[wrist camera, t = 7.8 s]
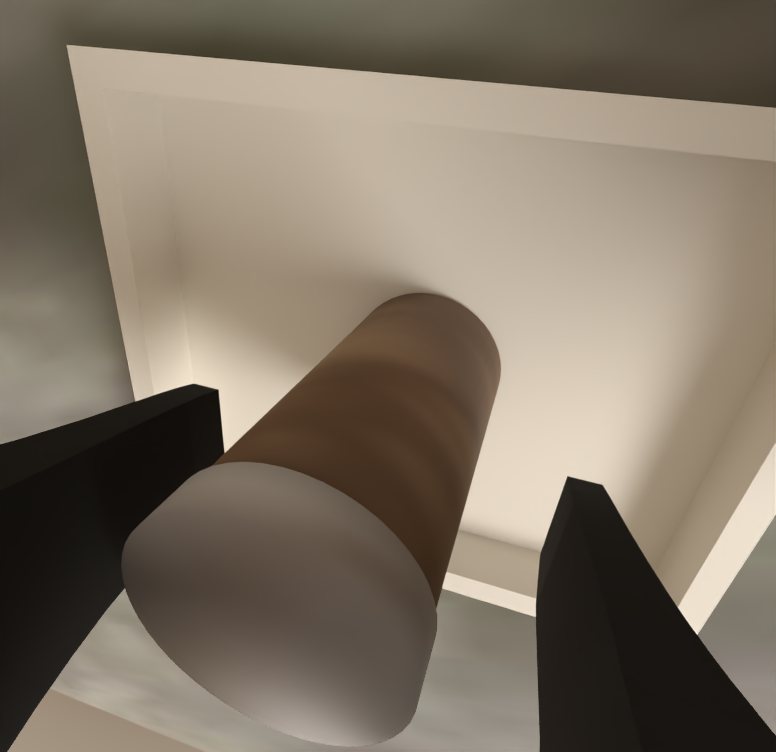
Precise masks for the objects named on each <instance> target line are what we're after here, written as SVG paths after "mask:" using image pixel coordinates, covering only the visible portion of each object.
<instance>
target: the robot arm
mask: <svg viewBox="0 0 776 752" xmlns="http://www.w3.org/2000/svg"><path fill="white" fill-rule="evenodd" d="M223 454H224V443H223V432H222V421H221V411H220V400H219V390H218V389H214V388H210V387H206V386H202V385H198V384H190V385H186V386H182V387H178V388H175V389H172V390H168V391H165V392H162V393H159V394H156V395H153V396H150V397H147V398H144V399H141V400H138V401H135V402H133V403H130V404H127V405H124V406H121V407H118V408H115V409H112V410H109V411H106V412H103V413H100V414H98V415H95V416H92V417H89V418H86V419H83V420H80V421H76V422H73V423H70V424H67V425H64V426H60V427H57V428H54V429H51V430H48V431H44V432H41V433H38V434H35V435H32V436H28V437H25V438H22V439H18V440H15V441H11V442H8V443H4V444H0V752H7V751H8V750H9V748H10V747H11V745H12V743H13V742H14V740H15V739H16V737H17V736H18V734H19V733H20V731H21V730H22V728H23V727H24V725H25V724H26V722H27V720H28V719H29V718H30V716H31V715H32V713H33V711H34V710H35V708H36V707H37V705H38V704H39V703H40V701H41V700H42V698H43V697H44V695H45V694H46V693H47V691H48V690H49V688H50V687H51V686H52V684H53V683H54V681H55V680H56V678H57V677H58V676H59V674H60V673H61V671H62V670H63V668H64V667H65V666H66V664H67V663H68V661H69V660H70V658H71V657H72V656H73V654H74V653H75V652H76V650H77V649H78V648H79V646H80V645H81V643H82V642H83V641H84V639H85V638H86V637H87V635H88V634H89V633H90V631H91V630H92V629H93V627H94V626H95V625H96V623H97V622H98V621H99V619H100V618H101V617H102V615H103V614H104V612H105V611H106V610H107V609H108V607H109V606H110V605H111V604H112V603H113V601H114V600H115V599H116V598H117V597H118V595H119V594H120V593H121V592H122V591H123V589H124V588H125V585H124V582H123V577H122V568H121V562H122V552H123V549H124V545H125V543H126V541H127V539H128V537H129V535H130V534H131V533H132V532H133V530H134V529H135V528H136V527H137V526H138V525H139V524H140V523H141V522H143V521H144V520H145V519H146V518H147V517H148V516H149V515H150V514H151V513H152V512H153V511H154V510H155V509H156V508H158V507H159V506H160V505H161V504H162V503H163V502H164V501H165V500H166V499H167V498H168V497H169V496H170V495H171V494H173V493H174V492H175V491H176V490H177V489H178V488H179V487H180V486H181V485H182V484H183V483H184V482H185V481H186V480H187V479H189V478H190V477H191V476H193V475H194V474H196V473H198V472H199V471H201V470H204V469H206V468H209V467H211V466H212V465H213V464H214V463H215V462H216V461H217V460H218V459H219V458H220V457H221V456H222V455H223ZM536 636H537V667H538V697H539V726H540V752H776V735H775V734H774V733H773V732H772V731H771V729H770V728H769V727H768V726H767V724H766V723H765V722H764V721H763V720H762V718H761V717H760V716H759V715H758V713H757V712H756V711H755V710H754V708H753V707H752V706H751V705H750V703H749V702H748V701H747V700H746V698H745V697H744V696H743V695H742V694H741V692H740V691H739V690H738V689H737V687H736V686H735V685H734V684H733V682H732V681H731V680H730V679H729V677H728V676H727V675H726V673H725V672H724V671H723V669H722V668H721V667H720V666H719V664H718V663H717V662H716V660H715V659H714V658H713V656H712V655H711V654H710V652H709V651H708V650H707V648H706V647H705V645H704V644H703V643H702V641H701V640H700V638H699V637H698V636H697V634H696V633H695V631H694V630H693V629H692V627H691V626H690V624H689V623H688V622H687V620H686V619H685V617H684V616H683V614H682V613H681V611H680V610H679V608H678V607H677V605H676V604H675V602H674V601H673V600H672V598H671V597H670V595H669V593H668V592H667V590H666V589H665V587H664V586H663V584H662V582H661V581H660V579H659V578H658V576H657V575H656V573H655V572H654V570H653V568H652V567H651V565H650V564H649V562H648V561H647V559H646V557H645V556H644V554H643V552H642V551H641V549H640V547H639V546H638V544H637V542H636V541H635V539H634V537H633V536H632V534H631V532H630V531H629V529H628V527H627V526H626V524H625V522H624V520H623V519H622V517H621V515H620V513H619V512H618V510H617V508H616V506H615V505H614V503H613V501H612V499H611V498H610V496H609V494H608V493H607V491H606V489H605V488H604V486H603V485H601V484H597V483H593V482H589V481H585V480H581V479H577V478H573V477H569V476H567V479H566V482H565V485H564V487H563V490H562V493H561V496H560V499H559V502H558V505H557V507H556V510H555V513H554V516H553V519H552V522H551V525H550V527H549V530H548V533H547V536H546V539H545V542H544V545H543V547H542V550H541V553H540V561H539V572H538V583H537V596H536Z"/></svg>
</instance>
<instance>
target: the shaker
mask: <svg viewBox="0 0 776 752" xmlns="http://www.w3.org/2000/svg"><path fill="white" fill-rule="evenodd" d="M500 376H501V361H500V356H499V351H498V348H497V346H496V343H495V340H494V339H493V337H492V335H491V333H490V331H489V330H488V329H487V327H486V326H485V324H484V323H483V322H482V321H481V320H480V319H479V318H478V317H477V316H476V315H475V314H474V313H473V312H471V311H470V310H469V309H467V308H466V307H464V306H463V305H461V304H460V303H457V302H455V301H453V300H451V299H449V298H446V297H443V296H439V295H434V294H428V293H411V294H405V295H400V296H398V297H395V298H392V299H390V300H388V301H386V302H384V303H382V304H381V305H380V306H378V307H377V308H376V309H375V310H374V311H373V312H372V313H370V314H369V315H368V316H367V317H366V318H365V319H364V320H363V321H362V322H361V323H360V324H359V325H358V326H357V327H356V328H355V329H354V330H353V331H352V332H351V333H350V334H349V335H348V336H346V337H345V338H344V339H343V340H342V341H341V342H340V343H339V344H338V345H337V346H336V347H335V348H334V349H333V350H332V351H331V352H330V353H329V354H328V355H327V356H326V357H325V358H324V359H322V360H321V361H320V362H319V363H318V364H317V365H316V366H315V367H314V368H313V369H312V370H311V371H310V372H309V373H308V374H307V375H306V376H305V377H304V378H303V379H302V380H301V381H300V382H298V383H297V384H296V385H295V386H294V387H293V388H292V389H291V390H290V391H289V392H288V393H287V394H286V395H285V396H284V397H283V398H282V399H281V400H280V401H279V402H278V403H277V404H276V405H274V406H273V407H272V408H271V409H270V410H269V411H268V412H267V413H266V414H265V415H264V416H263V417H262V418H261V419H260V420H259V421H258V422H257V423H256V424H255V425H254V426H253V427H252V428H250V429H249V430H248V431H247V432H246V433H245V434H244V435H243V436H242V437H241V438H240V439H239V440H238V441H237V442H236V443H235V444H234V445H233V446H232V447H231V448H230V449H229V450H228V451H226V452H225V453H224V454H223V455H222V456H221V457H220V458H219V459H218V460H217V461H216V462H215V463H214V464H213V465H212V466H211V467H209V468H206V469H204V470H201V471H199V472H198V473H196V474H194V475H193V476H191V477H190V478H189V479H187V480H186V481H185V482H184V483H183V484H182V485H181V486H180V487H179V488H178V489H177V490H176V491H175V492H174V493H173V494H171V495H170V496H169V497H168V498H167V499H166V500H165V501H164V502H163V503H162V504H161V505H160V506H159V507H158V508H156V509H155V510H154V511H153V512H152V513H151V514H150V515H149V516H148V517H147V518H146V519H145V520H144V521H143V522H141V523H140V524H139V525H138V526H137V527H136V528H135V529H134V530H133V532H132V533H131V534H130V535H129V537H128V539H127V541H126V543H125V545H124V549H123V552H122V562H121V568H122V577H123V582H124V585H125V589H126V592H127V595H128V597H129V600H130V602H131V604H132V606H133V608H134V610H135V612H136V614H137V616H138V618H139V619H140V621H141V622H142V624H143V625H144V627H145V628H146V630H147V631H148V633H149V634H150V635H151V637H152V638H153V639H154V640H155V642H156V643H157V644H158V646H159V647H160V648H161V649H162V650H163V651H164V652H165V653H166V654H167V656H168V657H169V658H170V659H171V660H172V661H173V662H174V663H175V664H176V665H177V666H178V667H179V668H180V669H182V670H183V671H184V672H185V673H186V674H187V675H188V676H190V677H191V678H192V679H193V680H194V681H195V682H197V683H198V684H199V685H200V686H202V687H203V688H204V689H206V690H207V691H208V692H209V693H211V694H212V695H214V696H215V697H217V698H218V699H220V700H221V701H223V702H224V703H226V704H227V705H229V706H230V707H232V708H234V709H235V710H237V711H239V712H240V713H242V714H244V715H246V716H248V717H250V718H252V719H254V720H255V721H257V722H260V723H262V724H264V725H266V726H268V727H271V728H273V729H275V730H278V731H280V732H283V733H286V734H288V735H291V736H294V737H298V738H301V739H304V740H308V741H312V742H317V743H321V744H327V745H335V746H351V747H354V746H368V745H372V744H377V743H381V742H383V741H386V740H388V739H391V738H393V737H394V736H396V735H397V734H399V733H400V732H402V731H403V730H404V729H405V727H406V726H407V725H408V724H409V723H410V722H411V720H412V718H413V716H414V714H415V712H416V708H417V704H418V700H419V697H420V693H421V689H422V685H423V682H424V678H425V674H426V670H427V667H428V663H429V659H430V655H431V652H432V648H433V644H434V640H435V636H436V631H437V612H436V607H437V604H438V600H439V597H440V593H441V590H442V586H443V583H444V579H445V575H446V572H447V568H448V565H449V561H450V558H451V554H452V550H453V547H454V543H455V540H456V536H457V533H458V529H459V525H460V522H461V518H462V515H463V511H464V508H465V504H466V501H467V497H468V493H469V490H470V486H471V483H472V479H473V476H474V472H475V468H476V465H477V461H478V458H479V454H480V451H481V447H482V443H483V440H484V436H485V433H486V429H487V426H488V422H489V419H490V415H491V411H492V408H493V404H494V401H495V397H496V394H497V390H498V386H499V382H500Z"/></svg>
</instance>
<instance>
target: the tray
mask: <svg viewBox="0 0 776 752" xmlns="http://www.w3.org/2000/svg"><path fill="white" fill-rule="evenodd" d="M67 50H68V55H69V60H70V66H71V71H72V76H73V81H74V86H75V91H76V97H77V102H78V107H79V112H80V117H81V123H82V128H83V133H84V138H85V143H86V148H87V154H88V159H89V164H90V169H91V174H92V180H93V185H94V190H95V195H96V200H97V205H98V211H99V216H100V221H101V226H102V231H103V237H104V242H105V247H106V252H107V257H108V262H109V268H110V273H111V278H112V283H113V288H114V294H115V299H116V304H117V309H118V314H119V319H120V325H121V330H122V335H123V340H124V345H125V350H126V356H127V361H128V366H129V371H130V376H131V382H132V387H133V392H134V397H135V401H138V400H141V399H144V398H147V397H150V396H153V395H156V394H159V393H162V392H165V391H168V390H172V389H175V388H178V387H182V386H186V385H190V384H198V385H202V386H206V387H210V388H214V389H218V390H219V400H220V411H221V421H222V432H223V443H224V453H225V452H226V451H228V450H229V449H230V448H231V447H232V446H233V445H234V444H235V443H236V442H237V441H238V440H239V439H240V438H241V437H242V436H243V435H244V434H245V433H246V432H247V431H248V430H249V429H250V428H252V427H253V426H254V425H255V424H256V423H257V422H258V421H259V420H260V419H261V418H262V417H263V416H264V415H265V414H266V413H267V412H268V411H269V410H270V409H271V408H272V407H273V406H274V405H276V404H277V403H278V402H279V401H280V400H281V399H282V398H283V397H284V396H285V395H286V394H287V393H288V392H289V391H290V390H291V389H292V388H293V387H294V386H295V385H296V384H297V383H298V382H300V381H301V380H302V379H303V378H304V377H305V376H306V375H307V374H308V373H309V372H310V371H311V370H312V369H313V368H314V367H315V366H316V365H317V364H318V363H319V362H320V361H321V360H322V359H324V358H325V357H326V356H327V355H328V354H329V353H330V352H331V351H332V350H333V349H334V348H335V347H336V346H337V345H338V344H339V343H340V342H341V341H342V340H343V339H344V338H345V337H346V336H348V335H349V334H350V333H351V332H352V331H353V330H354V329H355V328H356V327H357V326H358V325H359V324H360V323H361V322H362V321H363V320H364V319H365V318H366V317H367V316H368V315H369V314H370V313H372V312H373V311H374V310H375V309H376V308H377V307H378V306H380V305H381V304H382V303H384V302H386V301H388V300H390V299H392V298H395V297H398V296H400V295H405V294H411V293H428V294H434V295H439V296H443V297H446V298H449V299H451V300H453V301H455V302H457V303H460V304H461V305H463V306H464V307H466V308H467V309H469V310H470V311H471V312H473V313H474V314H475V315H476V316H477V317H478V318H479V319H480V320H481V321H482V322H483V323H484V324H485V326H486V327H487V329H488V330H489V331H490V333H491V335H492V337H493V339H494V340H495V343H496V346H497V348H498V351H499V356H500V361H501V376H500V382H499V386H498V390H497V394H496V397H495V401H494V404H493V408H492V411H491V415H490V419H489V422H488V426H487V429H486V433H485V436H484V440H483V443H482V447H481V451H480V454H479V458H478V461H477V465H476V468H475V472H474V476H473V479H472V483H471V486H470V490H469V493H468V497H467V501H466V504H465V508H464V511H463V515H462V518H461V522H460V525H459V529H458V533H457V536H456V540H455V543H454V547H453V550H452V554H451V558H450V561H449V565H448V568H447V572H446V575H445V579H444V583H443V586H442V588H443V589H446V590H449V591H453V592H456V593H459V594H462V595H466V596H469V597H472V598H475V599H479V600H482V601H485V602H489V603H492V604H495V605H498V606H502V607H505V608H508V609H511V610H515V611H518V612H521V613H525V614H528V615H531V616H534V617H536V596H537V583H538V572H539V561H540V553H541V550H542V547H543V545H544V542H545V539H546V536H547V533H548V530H549V527H550V525H551V522H552V519H553V516H554V513H555V510H556V507H557V505H558V502H559V499H560V496H561V493H562V490H563V487H564V485H565V482H566V479H567V476H569V477H573V478H577V479H581V480H585V481H589V482H593V483H597V484H601V485H603V486H604V488H605V489H606V491H607V493H608V494H609V496H610V498H611V499H612V501H613V503H614V505H615V506H616V508H617V510H618V512H619V513H620V515H621V517H622V519H623V520H624V522H625V524H626V526H627V527H628V529H629V531H630V532H631V534H632V536H633V537H634V539H635V541H636V542H637V544H638V546H639V547H640V549H641V551H642V552H643V554H644V556H645V557H646V559H647V561H648V562H649V564H650V565H651V567H652V568H653V570H654V572H655V573H656V575H657V576H658V578H659V579H660V581H661V582H662V584H663V586H664V587H665V589H666V590H667V592H668V593H669V595H670V597H671V598H672V600H673V601H674V602H675V604H676V605H677V607H678V608H679V610H680V611H681V613H682V614H683V616H684V617H685V619H686V620H687V622H688V623H689V624H690V626H691V627H692V629H693V630H694V631H695V633H696V634H698V633H699V631H700V630H701V628H702V627H703V625H704V624H705V622H706V620H707V619H708V617H709V616H710V614H711V613H712V611H713V610H714V608H715V607H716V605H717V604H718V602H719V601H720V599H721V597H722V596H723V594H724V593H725V591H726V590H727V588H728V587H729V585H730V584H731V582H732V581H733V579H734V578H735V576H736V574H737V573H738V571H739V570H740V568H741V567H742V565H743V564H744V562H745V561H746V559H747V558H748V556H749V555H750V553H751V552H752V550H753V548H754V547H755V545H756V544H757V542H758V541H759V539H760V538H761V536H762V535H763V533H764V532H765V530H766V529H767V527H768V525H769V524H770V522H771V521H772V519H773V518H774V516H775V515H776V108H771V107H760V106H749V105H738V104H726V103H715V102H704V101H693V100H681V99H670V98H659V97H648V96H636V95H625V94H614V93H602V92H591V91H580V90H569V89H557V88H546V87H535V86H524V85H512V84H501V83H490V82H479V81H467V80H456V79H445V78H434V77H422V76H411V75H400V74H389V73H377V72H366V71H355V70H344V69H332V68H321V67H310V66H299V65H287V64H276V63H265V62H254V61H242V60H231V59H220V58H209V57H197V56H186V55H175V54H164V53H152V52H141V51H130V50H119V49H107V48H96V47H85V46H74V45H67Z"/></svg>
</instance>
